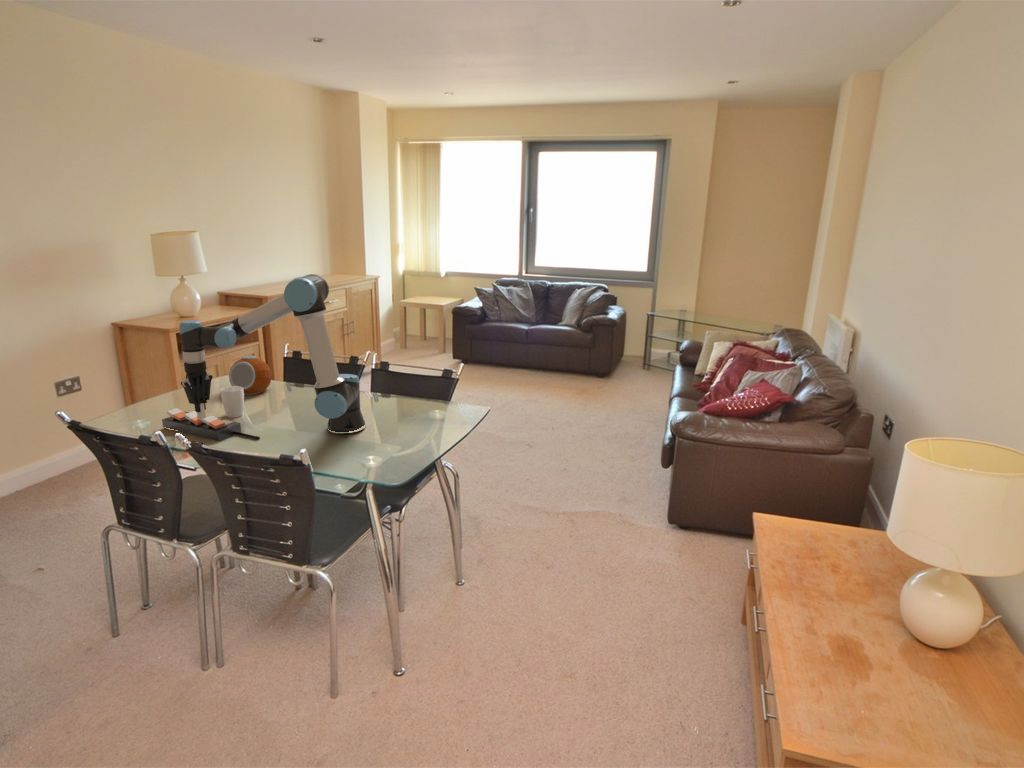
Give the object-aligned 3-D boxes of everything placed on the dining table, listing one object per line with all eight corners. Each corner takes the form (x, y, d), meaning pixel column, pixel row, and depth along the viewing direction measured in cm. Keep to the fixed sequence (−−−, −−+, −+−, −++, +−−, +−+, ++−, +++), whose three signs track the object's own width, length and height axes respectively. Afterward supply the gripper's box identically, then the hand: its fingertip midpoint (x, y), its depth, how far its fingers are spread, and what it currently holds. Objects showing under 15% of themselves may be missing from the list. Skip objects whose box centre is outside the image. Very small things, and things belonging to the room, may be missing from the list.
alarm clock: (222, 394, 287) (219, 359, 282) (244, 384, 303) (241, 351, 298) (259, 397, 284) (256, 362, 279) (279, 387, 301) (276, 354, 296)
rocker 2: (206, 422, 239) (207, 419, 238) (197, 425, 235) (197, 423, 234) (193, 413, 240) (194, 410, 240) (184, 416, 236) (184, 414, 236)
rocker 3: (224, 425, 235) (225, 422, 235) (215, 428, 231) (215, 425, 231) (211, 417, 237) (211, 415, 237) (201, 421, 233) (202, 418, 233)
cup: (237, 419, 255) (234, 392, 251) (218, 417, 256) (215, 390, 253) (250, 412, 263) (247, 386, 260) (232, 410, 265) (229, 384, 262)
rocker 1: (189, 417, 242) (189, 414, 242) (179, 420, 238) (179, 418, 237) (176, 410, 244) (176, 408, 243) (166, 413, 240) (166, 411, 239)
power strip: (264, 437, 237) (263, 425, 235) (243, 446, 227) (241, 434, 226) (186, 420, 252) (185, 409, 250) (163, 428, 242) (161, 416, 240)
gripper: (201, 356, 237) (208, 412, 243) (172, 363, 225) (180, 422, 232) (215, 358, 234) (222, 415, 241) (187, 366, 222) (194, 425, 229)
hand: (201, 419), depth 236 cm, fingers closed
